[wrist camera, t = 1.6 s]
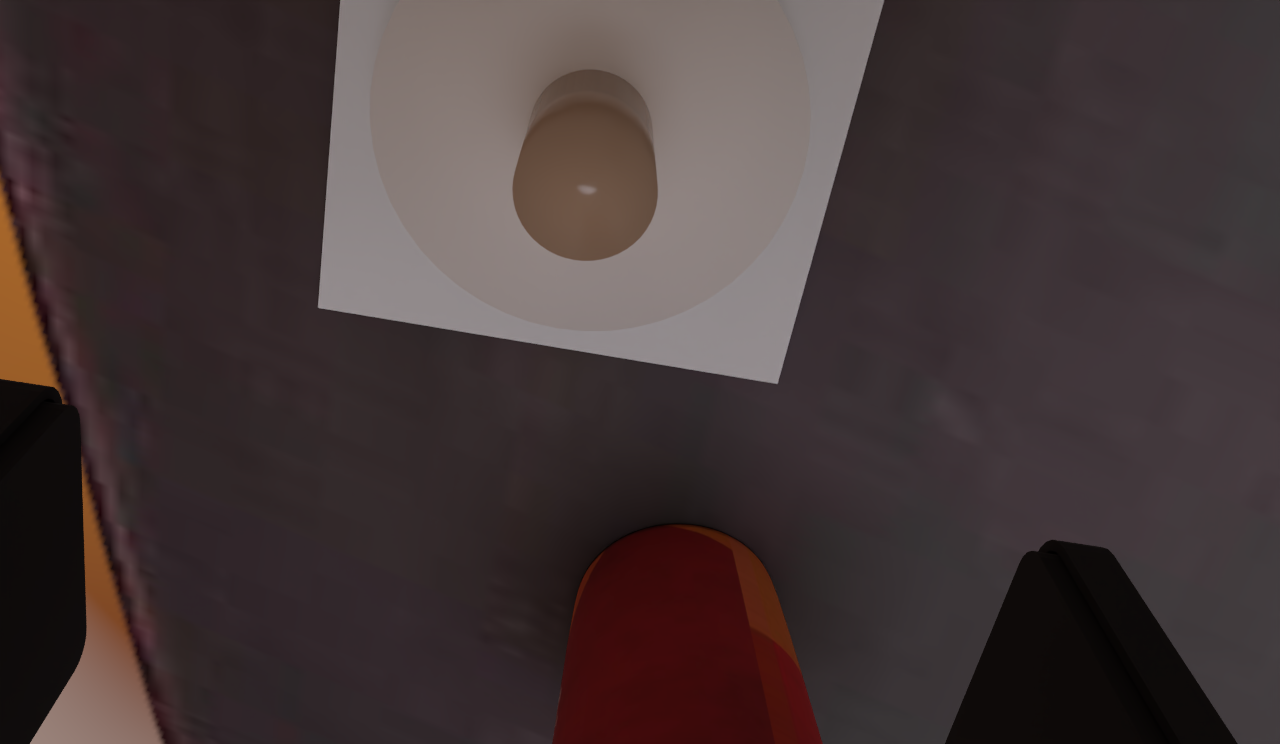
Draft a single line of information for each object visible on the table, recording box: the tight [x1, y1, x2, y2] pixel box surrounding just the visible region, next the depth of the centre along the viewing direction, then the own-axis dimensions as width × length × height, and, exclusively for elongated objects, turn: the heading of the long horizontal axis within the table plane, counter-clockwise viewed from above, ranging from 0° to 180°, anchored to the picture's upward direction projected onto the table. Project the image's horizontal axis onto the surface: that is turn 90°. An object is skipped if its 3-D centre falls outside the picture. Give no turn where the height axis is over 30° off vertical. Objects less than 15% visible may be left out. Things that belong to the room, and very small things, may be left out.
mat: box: [318, 0, 884, 384], centre depth 27 cm, size 12×12×1 cm
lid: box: [370, 0, 811, 331], centre depth 24 cm, size 10×10×6 cm
